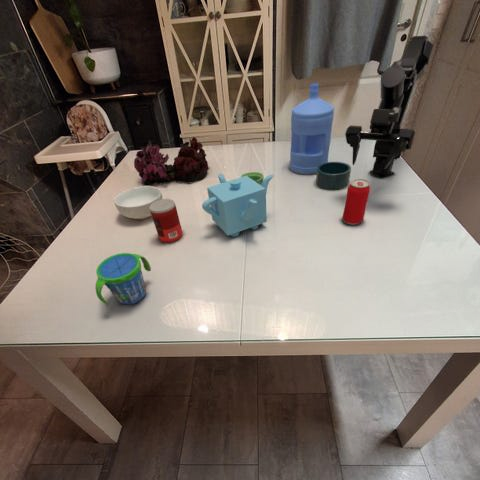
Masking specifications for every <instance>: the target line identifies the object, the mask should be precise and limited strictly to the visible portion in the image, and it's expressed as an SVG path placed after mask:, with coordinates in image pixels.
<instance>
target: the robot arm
mask: <svg viewBox="0 0 480 480" xmlns="http://www.w3.org/2000/svg"><path fill="white" fill-rule="evenodd" d="M433 52H434V44H433V43H432V42H431V41H430V40H429V36H427V35H412V37H411V36H410V37H409V40H408V43H407V44H406V45H405V46H404V49H403V53H402V56H401V57H400V59H398V60H396V61H394V62H393V63H392V64H391V66H389V67H387V68H386V69H385V70H384V71H383V72H382V73H381V76H380V99H381V100H380V103H379V105H378V108H374V109H373V111H372V115H371V118H370V125H369V130H370V131H363V128H362V127H363V126H362V125H349V126H348V127H347V128H346V131H345V133H344V135H345V140H346V144H347V145H349V147H351V148H352V162H351V163H352V166H355V164H356V162H357V158H358V154H359V151H360V147H361V144H360V143H361V141H362V140H366V141H375V143H374V147H373V154H372V158H375V160H374V163H373V167H372V170H370V171H369V174H371V175H374V176H376V177H378V178H380V179H382V178H385V177H389V176H392V175H394V174H395V172H394V171H392V170H393V166H394V163H395V161H397V160H398V159H401V156H402V153H404V152H405V151H406V150H409V151H410V150H411V148H412V146H413V144H414V140H415V135H416V131H415V129H414V128H413V129H412V128H402V125H403V121H404V118H405V115H406V112H407V109H408V106H409V104H410V101H411V97H412V94H413V92H414V89H415V86H416V83H417V82H418V80H419V79H420V78H421V77H422V76H423V75H424V74H425V72H426V69H427V66H429V65H430V63H431V59H432V56H433V54H434V53H433Z"/></svg>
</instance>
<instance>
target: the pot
mask: <svg viewBox="0 0 480 480" xmlns="http://www.w3.org/2000/svg"><path fill="white" fill-rule="evenodd" d="M351 173H352V167H351V165H350V164H348V163H346V162H344V161H343V162H342V161H328V162H326V163H323V164H321V165H319V166H318V167H317V173H316V180H315V185H316V187H318V188H319V189H322V190H325V191H339V190H342V189H344V188H346V187H348V186H349V184H350V179H351Z"/></svg>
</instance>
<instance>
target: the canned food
mask: <svg viewBox="0 0 480 480" xmlns="http://www.w3.org/2000/svg"><path fill="white" fill-rule="evenodd" d="M149 208H150V212H151V215H152V216H151V218H152V221H153V225H154V228H155V230H156V233H157V236H158V239H159V240H160V242H162V243H166V244H170V243H175V242H177V241H179V240H180V239H181V238H182V236H183V229H182V225H181V221H180V217H179V213H178V209H177V206H176V202H175V201H174V199H171V198H162V200H158V201H155V202H154V203H152V204H151V205H150V207H149Z"/></svg>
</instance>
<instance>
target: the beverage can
mask: <svg viewBox="0 0 480 480" xmlns="http://www.w3.org/2000/svg"><path fill="white" fill-rule="evenodd" d="M370 193H371V186H370V181H369V180H367V179H363V178H357V179H353V180H351V181H350V182H349V184H348V186H347V190H346V196H345V201H344V202H345V203H344V207H343V214H342V221H343V222H344V223H346V224H348V225H358V224H361V223H362V222H363V221H364V218H365V213H366V209H367V205H368V200H369V196H370Z"/></svg>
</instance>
